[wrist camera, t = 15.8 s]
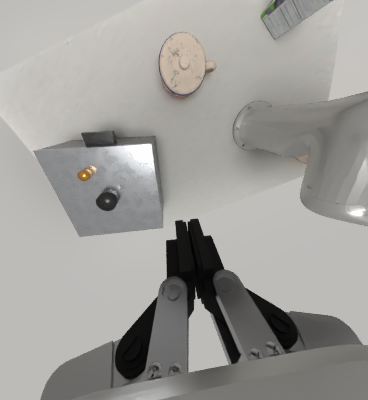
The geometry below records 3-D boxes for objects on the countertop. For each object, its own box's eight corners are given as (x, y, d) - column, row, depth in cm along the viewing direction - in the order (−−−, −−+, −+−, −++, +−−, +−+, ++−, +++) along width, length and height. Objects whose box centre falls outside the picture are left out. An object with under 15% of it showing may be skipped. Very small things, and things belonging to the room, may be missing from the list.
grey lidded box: (153, 126, 40) (149, 130, 29) (163, 208, 53) (163, 230, 43) (68, 130, 38) (32, 136, 28) (101, 214, 51) (85, 239, 41)
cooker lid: (151, 142, 31) (149, 146, 27) (163, 224, 42) (162, 235, 38) (39, 149, 29) (19, 154, 25) (82, 232, 40) (73, 245, 36)
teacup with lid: (163, 101, 37) (163, 96, 27) (156, 53, 33) (152, 25, 23) (209, 95, 38) (226, 87, 28) (208, 46, 33) (227, 16, 23)
